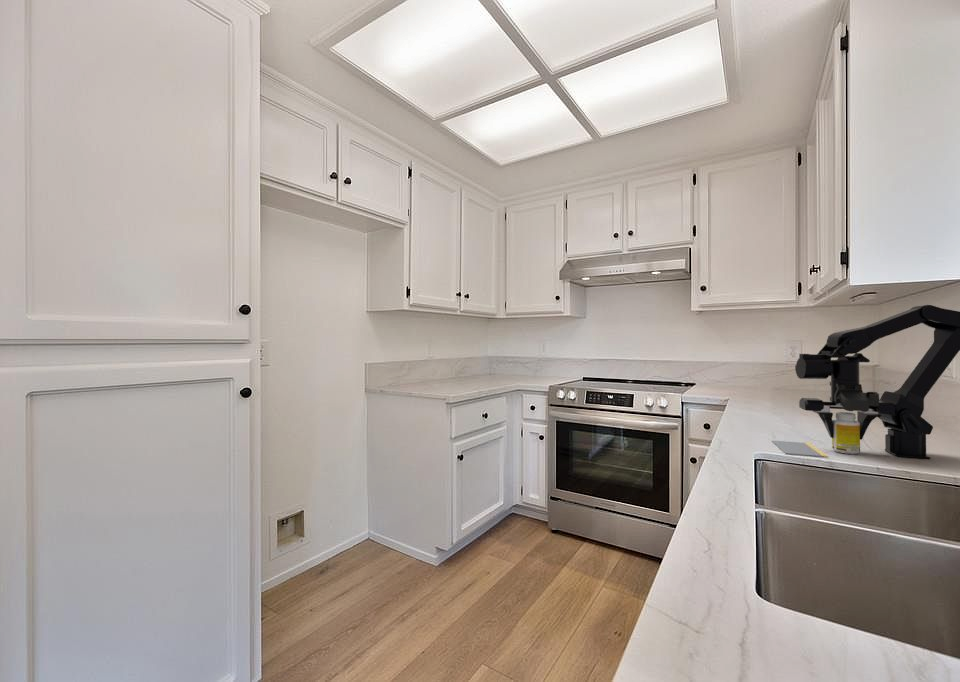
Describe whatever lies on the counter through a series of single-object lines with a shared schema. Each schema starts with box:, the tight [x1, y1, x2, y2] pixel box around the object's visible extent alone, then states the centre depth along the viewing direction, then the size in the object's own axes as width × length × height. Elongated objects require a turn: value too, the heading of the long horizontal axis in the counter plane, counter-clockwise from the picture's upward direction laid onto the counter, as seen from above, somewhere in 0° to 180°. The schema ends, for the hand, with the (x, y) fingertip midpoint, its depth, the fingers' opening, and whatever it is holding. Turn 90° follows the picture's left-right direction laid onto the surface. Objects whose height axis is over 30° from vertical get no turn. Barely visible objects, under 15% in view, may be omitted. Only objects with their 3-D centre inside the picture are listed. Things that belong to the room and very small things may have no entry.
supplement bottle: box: [831, 411, 861, 455], centre depth 111 cm, size 6×6×10 cm
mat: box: [771, 440, 829, 458], centre depth 114 cm, size 9×15×1 cm, turn 157°
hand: (845, 438), depth 111 cm, fingers closed on supplement bottle, 6 cm apart
